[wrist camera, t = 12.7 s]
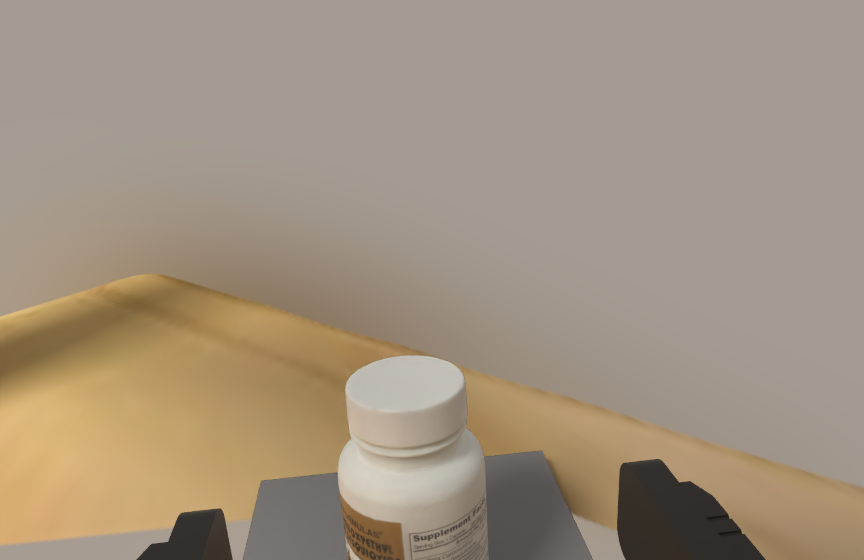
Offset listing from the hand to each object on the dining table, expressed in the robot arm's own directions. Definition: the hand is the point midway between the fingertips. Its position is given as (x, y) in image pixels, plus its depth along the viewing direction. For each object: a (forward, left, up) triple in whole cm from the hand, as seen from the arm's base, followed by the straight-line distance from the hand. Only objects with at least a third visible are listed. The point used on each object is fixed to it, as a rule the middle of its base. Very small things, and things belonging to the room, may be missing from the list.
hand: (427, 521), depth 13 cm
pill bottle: (0, +6, -8) cm, 10 cm away
